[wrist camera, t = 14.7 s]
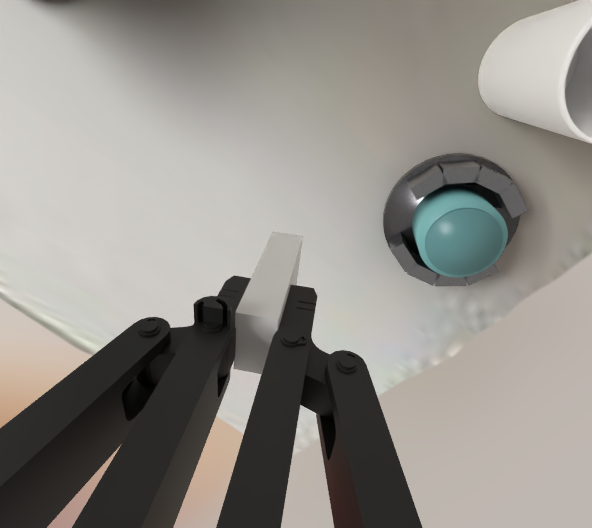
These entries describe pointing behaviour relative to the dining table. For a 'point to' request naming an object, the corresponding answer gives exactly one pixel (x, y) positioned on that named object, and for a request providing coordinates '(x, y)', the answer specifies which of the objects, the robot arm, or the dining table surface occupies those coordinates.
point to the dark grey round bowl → (434, 176)
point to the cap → (458, 231)
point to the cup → (543, 71)
